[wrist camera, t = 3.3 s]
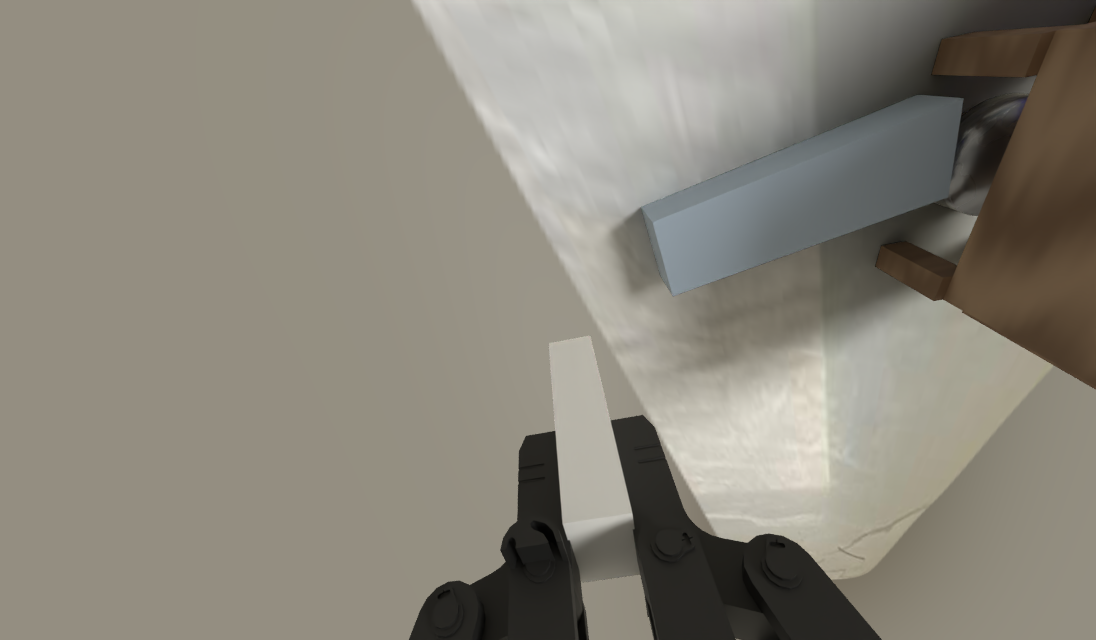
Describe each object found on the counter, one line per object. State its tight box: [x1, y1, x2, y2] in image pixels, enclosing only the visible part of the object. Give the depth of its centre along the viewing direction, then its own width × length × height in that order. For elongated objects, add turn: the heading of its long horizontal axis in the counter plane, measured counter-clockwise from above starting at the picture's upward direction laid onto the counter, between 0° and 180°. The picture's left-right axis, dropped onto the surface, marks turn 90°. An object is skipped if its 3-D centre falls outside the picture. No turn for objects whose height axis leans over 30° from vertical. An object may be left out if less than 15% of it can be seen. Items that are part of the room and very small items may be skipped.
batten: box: [641, 95, 964, 296], centre depth 22 cm, size 5×15×3 cm, turn 113°
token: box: [935, 93, 1029, 216], centre depth 22 cm, size 6×6×2 cm
